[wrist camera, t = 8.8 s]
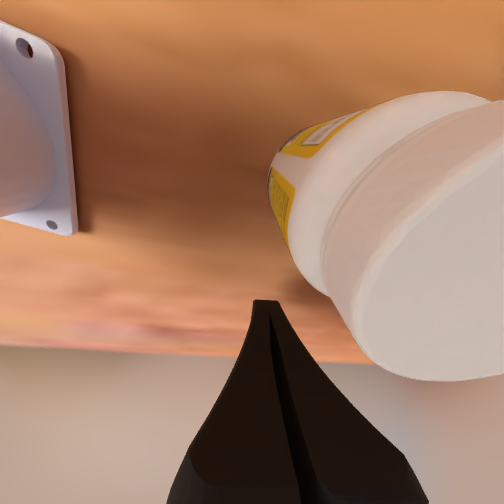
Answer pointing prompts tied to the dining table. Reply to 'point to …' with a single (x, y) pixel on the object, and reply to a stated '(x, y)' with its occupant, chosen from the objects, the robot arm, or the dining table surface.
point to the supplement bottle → (404, 229)
